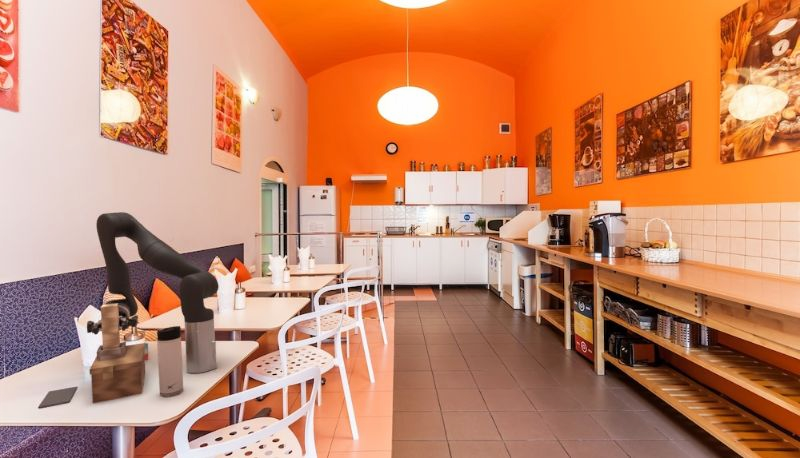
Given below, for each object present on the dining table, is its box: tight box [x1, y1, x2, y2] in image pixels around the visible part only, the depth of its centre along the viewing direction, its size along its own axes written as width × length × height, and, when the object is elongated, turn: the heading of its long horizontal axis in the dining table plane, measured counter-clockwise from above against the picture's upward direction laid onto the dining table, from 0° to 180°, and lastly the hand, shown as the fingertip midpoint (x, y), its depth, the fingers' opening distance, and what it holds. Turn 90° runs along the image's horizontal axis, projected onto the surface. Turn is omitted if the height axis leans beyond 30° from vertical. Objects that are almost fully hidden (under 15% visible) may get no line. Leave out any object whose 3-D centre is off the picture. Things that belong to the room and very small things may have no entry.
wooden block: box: [100, 303, 121, 350], centre depth 130 cm, size 4×4×16 cm
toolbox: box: [89, 341, 146, 404], centre depth 131 cm, size 13×21×13 cm, turn 29°
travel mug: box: [156, 325, 184, 398], centre depth 125 cm, size 6×7×20 cm
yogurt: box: [144, 342, 149, 361], centre depth 150 cm, size 12×2×6 cm, turn 2°
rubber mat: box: [37, 386, 79, 409], centre depth 124 cm, size 7×12×1 cm, turn 29°
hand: (109, 329), depth 127 cm, fingers open, 6 cm apart
